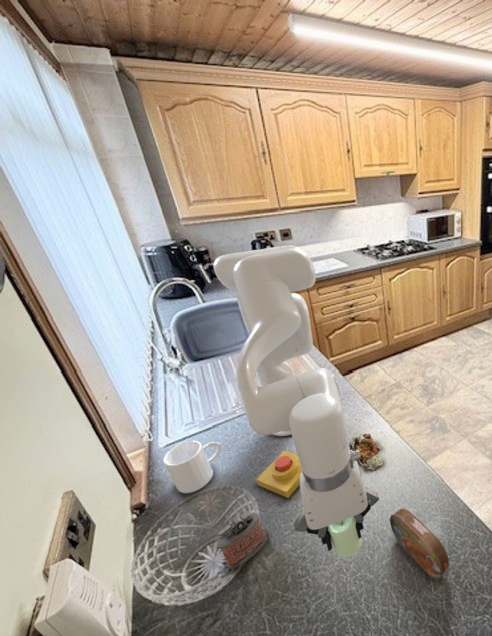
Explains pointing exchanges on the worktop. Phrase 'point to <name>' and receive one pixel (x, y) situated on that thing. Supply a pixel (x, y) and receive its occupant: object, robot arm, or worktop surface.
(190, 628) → the worktop surface
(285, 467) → the red push button
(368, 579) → the worktop surface
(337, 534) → the candle
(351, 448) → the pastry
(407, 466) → the worktop surface
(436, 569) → the tin
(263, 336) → the robot arm
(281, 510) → the worktop surface
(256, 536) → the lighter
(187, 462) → the mug
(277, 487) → the button box
